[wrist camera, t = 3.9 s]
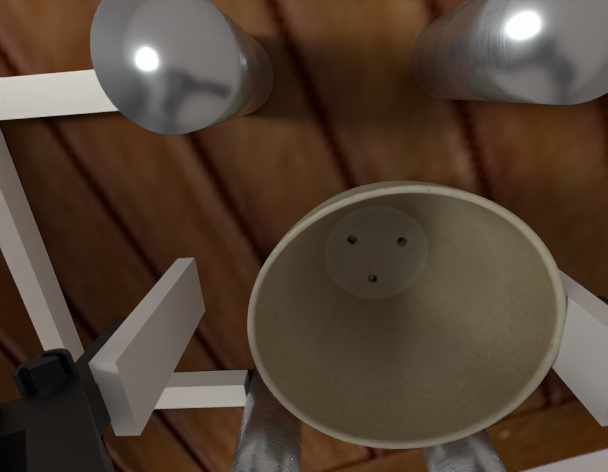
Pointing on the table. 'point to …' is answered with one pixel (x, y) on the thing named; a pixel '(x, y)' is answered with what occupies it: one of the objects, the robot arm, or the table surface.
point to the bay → (32, 253)
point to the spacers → (258, 86)
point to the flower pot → (406, 315)
